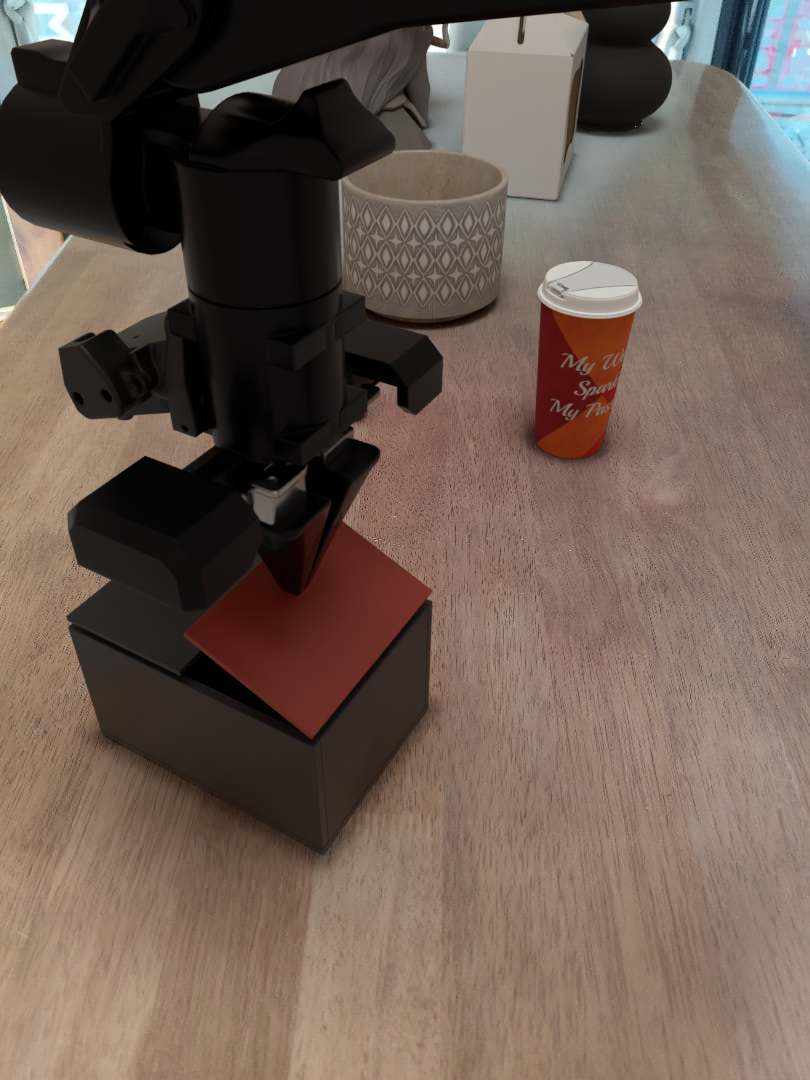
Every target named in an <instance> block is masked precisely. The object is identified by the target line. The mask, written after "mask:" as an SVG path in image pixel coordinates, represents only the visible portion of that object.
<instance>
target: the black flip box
mask: <svg viewBox="0 0 810 1080" xmlns="http://www.w3.org/2000/svg"><path fill="white" fill-rule="evenodd" d="M261 561H262V559H261V557H260V555H259V554H258V552H257V554H256V557H255V559H254V562H253V564H252V567H251V568H250V569H249V570H248V571H247V572H246V573H245V574H244V575H243V576H242V577H241V578H240V579H238V580H237V581H236V582H235V583H234V584H233V585H232V586H231V587H230V588H229V589H228V590H227V591H225V592H224V593H223V594H222V595H221V596H220V597H219V598H218V599H217V600H216V601H215V602H214V603H212V604H211V605H210V606H209V607H208V608H207V609H203V610H198V611H192V612H186V613H183V612H181V611H178V610H176V609H174V608H172V607H170V606H167V605H165V604H163V603H161V602H159V601H156V600H154V599H152V598H150V597H148V596H145V595H143V594H141V593H139V592H137V591H134V590H132V589H130V588H128V587H126V586H123V585H121V584H119V583H117V582H114V581H112V580H109V581H108V582H107V583H105V584H104V585H103V586H102V587H100V589H98V590H97V591H95V592H94V593H93V594H92V595H90V596H89V597H87V599H86V600H84V601H83V602H82V603H81V604H79V605H78V606H77V607H76V608H74V609H73V610H72V611H70V612H69V613H68V614H67V615H66V617H65V618H66V620H67V622H69V623H70V625H68V626H67V628H68V632H69V635H70V638H71V641H72V644H73V648H74V650H75V654H76V657H77V660H78V663H79V667H80V671H81V673H82V676H83V679H84V682H85V685H86V688H87V691H88V695H89V697H90V700H91V701H90V702H91V704H92V707H93V710H94V713H95V717H96V720H97V723H98V726H99V728H100V732H101V734H102V736H105V737H106V738H108V739H110V740H112V741H114V742H116V743H117V744H119V745H121V746H122V747H125V748H127V749H128V750H130V751H132V752H134V753H136V754H137V755H140V756H141V757H143V758H145V759H146V760H149V761H151V762H152V763H154V764H156V765H158V766H159V767H162V768H163V769H165V770H166V771H168V772H170V773H173V774H175V775H176V776H178V777H180V778H182V779H184V780H185V781H187V782H189V783H191V784H193V785H194V786H196V787H198V788H200V789H202V790H204V791H205V792H207V793H210V794H211V795H213V796H215V797H216V798H219V799H220V800H222V801H224V802H226V803H228V804H230V805H231V806H233V807H235V808H237V809H239V810H240V811H242V812H244V813H246V814H248V815H250V816H251V817H253V818H255V819H257V820H259V821H260V822H263V823H264V824H266V825H268V826H270V827H272V828H273V829H276V830H278V831H279V832H281V833H283V834H285V835H287V836H288V837H290V838H292V839H293V840H296V841H298V842H299V843H301V844H302V845H305V846H306V847H308V848H310V849H312V850H314V851H316V852H318V853H319V854H322V855H324V854H326V851H327V850H328V849H329V847H330V846H331V845H332V843H333V842H334V841H335V839H336V837H338V835H339V834H340V832H341V830H342V829H343V828H344V827H345V825H346V824H347V822H348V821H349V819H350V818H351V817H352V815H353V814H354V813H355V812H356V810H357V808H358V807H359V805H360V804H361V802H362V801H363V800H364V798H365V797H366V795H367V794H368V793H369V791H370V790H371V789H372V787H373V786H374V784H375V783H376V782H377V780H378V779H379V777H380V776H381V775H382V774H383V772H384V771H385V769H386V768H387V766H388V765H389V764H390V762H391V761H392V760H393V758H394V757H395V755H396V754H397V752H398V751H399V750H400V749H401V747H402V745H403V744H404V742H405V741H407V738H408V737H409V735H410V734H411V733H412V731H414V729H415V728H416V726H417V724H418V723H419V722H420V720H421V719H422V718H423V716H424V714H425V713H426V712H427V711H428V709H429V705H430V704H429V701H430V679H431V677H430V675H431V654H432V653H431V652H432V649H431V648H432V628H433V627H432V626H433V600H430V599H428V598H427V599H426V600H425V601H424V603H423V604H422V605H421V606H420V608H419V609H418V610H417V611H416V612H415V614H414V615H413V616H412V617H411V619H410V620H409V621H408V622H407V623H406V625H405V626H404V627H403V628H402V630H401V631H400V632H399V633H398V634H397V636H396V637H395V638H394V639H393V641H392V642H391V643H390V644H389V646H388V647H387V648H386V649H385V650H384V652H383V653H382V654H381V655H380V657H379V658H378V659H377V660H376V661H375V663H374V664H373V665H372V666H371V668H370V669H369V670H368V671H367V672H366V674H365V675H364V676H363V677H362V679H361V680H360V681H359V682H358V683H357V685H356V686H355V687H354V688H353V690H352V691H351V692H350V693H349V694H348V696H347V697H346V698H345V699H344V701H343V702H342V703H341V704H340V706H339V707H338V708H337V709H336V710H335V712H334V713H333V714H332V715H331V717H330V718H329V719H328V720H327V721H326V723H325V724H324V725H323V726H322V728H321V729H320V730H319V731H318V732H317V734H316V735H315V736H314V737H313V739H310V738H309V737H308V736H307V735H305V734H304V733H303V732H302V731H300V730H299V729H298V728H297V727H295V726H294V725H293V724H292V723H290V722H289V721H288V720H287V719H286V718H284V717H283V716H282V715H281V714H279V713H278V712H277V711H276V710H274V709H273V708H272V707H271V706H269V705H268V704H267V703H266V702H264V701H263V700H262V699H261V698H259V697H258V696H257V695H256V694H254V693H253V692H252V691H251V690H250V689H248V688H247V687H246V686H245V685H243V684H242V683H241V682H240V681H238V680H237V679H236V678H235V677H233V676H232V675H231V674H230V673H228V672H227V671H226V670H225V669H223V668H222V667H221V666H220V665H218V664H217V663H216V662H215V661H214V660H212V659H211V658H210V657H209V656H207V655H206V654H205V653H204V652H202V651H201V650H200V649H199V648H197V647H196V646H195V645H194V644H192V643H191V642H190V641H189V640H187V639H186V638H185V637H184V633H185V632H186V631H187V630H188V629H189V628H190V627H191V626H192V625H193V624H194V623H195V622H196V621H198V620H199V619H200V618H201V617H202V616H203V615H204V614H205V613H206V612H207V611H208V610H209V609H210V608H212V607H213V606H214V605H215V604H216V603H217V602H218V601H219V600H220V599H221V598H222V597H223V596H225V595H226V594H227V593H228V592H229V591H230V590H231V589H232V588H233V587H234V586H235V585H236V584H237V583H239V582H240V581H241V580H242V579H243V578H244V577H245V576H246V575H247V574H248V573H249V572H250V571H251V570H253V569H254V568H255V567H256V566H257V565H258V564H259V563H260V562H261Z"/></svg>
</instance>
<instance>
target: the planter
mask: <svg viewBox="0 0 810 1080" xmlns="http://www.w3.org/2000/svg"><path fill="white" fill-rule="evenodd" d="M340 185H341V186H340V187H341V188H340V189H341V214H342V216H341V217H342V240H343V241H342V242H343V243H342V244H343V268H344V270H343V271H344V272H343V273H344V289H345V291H347V292H351V293H355V294H359V295H363V296H365V307H366V309H367V310H370V311H371V312H372V313H374V314H376V315H378V316H382V317H384V318H387V319H390V320H394V321H398V322H405V323H414V324H431V323H442V322H443V323H444V322H449V321H453V320H458V319H460V318H464V317H466V316H468V315H471V314H472V313H474V312H476V311H478V310H481V309H483V308H485V307H486V306H488V305H490V304H491V303H492V302H493V301H495V299H496V298H497V297H498V295H499V293H500V289H501V279H502V269H503V267H502V265H503V255H504V253H503V252H504V240H505V227H506V217H507V216H506V214H507V204H508V196H507V191H508V174H507V172H506V171H505V170H504V169H503V168H502V167H501V166H499V165H498V164H496V163H494V162H492V161H490V160H487V159H485V158H481V157H478V156H474V155H470V154H465V153H462V152H459V151H451V150H441V149H428V150H401V151H393V153H391V154H390V155H388V156H386V157H384V158H382V159H380V160H378V161H376V162H374V163H372V164H370V165H368V166H366V167H364V168H362V169H360V170H358V171H356V172H354V173H352V174H350V175H348V176H346V177H344V178H342V179H340Z"/></svg>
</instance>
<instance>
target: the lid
mask: <svg viewBox="0 0 810 1080" xmlns="http://www.w3.org/2000/svg"><path fill="white" fill-rule="evenodd" d="M432 593H433V590H432V589H431V588H430V587H428V586H427V585H426V584H424V583H423V582H422V581H421V580H420V579H418V578H417V577H415V576H414V575H413V574H411V573H410V572H409V571H408V570H406V569H405V568H404V567H403V566H401V564H399V563H397V562H396V561H395V560H393V559H392V558H391V557H390V556H389V555H387V554H386V553H385V552H383V551H382V550H381V549H380V548H378V547H377V546H375V544H373V543H372V542H370V541H369V540H368V539H367V538H365V537H364V536H363V535H362V534H360V533H358V531H356V530H355V529H354V528H352V527H351V526H350V525H348V524H347V523H346V522H344V520H343V521H342V523H341V525H340V526H339V528H338V530H337V532H336V534H335V536H334V538H333V539H332V541H331V543H330V545H329V547H328V549H327V551H326V553H325V555H324V557H323V559H322V561H321V563H320V565H319V567H318V568H317V570H316V572H315V574H314V576H313V578H312V580H311V582H310V584H309V586H308V587H307V588H306V589H305V590H304V591H303V592H302V593H301V594H300V595H299V596H296V595H293V594H291V593H288V592H286V591H284V590H282V589H281V588H280V587H279V585H278V584H277V582H276V580H275V579H274V577H273V576H272V574H271V573H270V571H269V570H268V568H267V566H266V565H265V563H264V562H263V560H262V561H261V562H260V563H259V564H258V565H257V566H256V567H255V568H254V569H253V570H251V571H250V572H249V573H248V574H247V575H246V576H245V577H244V578H243V579H242V580H241V581H240V582H239V583H237V584H236V585H235V586H234V587H233V588H232V589H231V590H230V591H229V592H228V593H227V594H226V595H225V596H223V597H222V598H221V599H220V600H219V601H218V602H217V603H216V604H215V605H214V606H213V607H212V608H210V609H209V610H208V611H207V612H206V613H205V614H204V615H203V616H202V617H201V618H200V619H199V620H198V621H196V622H195V623H194V624H193V625H192V626H191V627H190V628H189V629H188V630H187V631H186V632H185V633H184V637H185V638H186V639H187V640H189V641H190V642H191V643H192V644H194V645H195V646H196V647H197V648H199V649H200V650H201V651H202V652H204V653H205V654H206V655H207V656H209V657H210V658H211V659H212V660H214V661H215V662H216V663H217V664H218V665H220V666H221V667H222V668H223V669H225V670H226V671H227V672H228V673H230V674H231V675H232V676H233V677H235V678H236V679H237V680H238V681H240V682H241V683H242V684H243V685H245V686H246V687H247V688H248V689H250V690H251V691H252V692H253V693H254V694H256V695H257V696H258V697H259V698H261V699H262V700H263V701H264V702H266V703H267V704H268V705H269V706H271V707H272V708H273V709H274V710H276V711H277V712H278V713H279V714H281V715H282V716H283V717H284V718H286V719H287V720H288V721H289V722H290V723H292V724H293V725H294V726H295V727H297V728H298V729H299V730H300V731H302V732H303V733H304V734H305V735H307V736H308V737H309V738H310V739H313V737H314V736H315V735H316V734H317V732H318V731H319V730H320V729H321V728H322V726H323V725H324V724H325V723H326V721H327V720H328V719H329V718H330V717H331V715H332V714H333V713H334V712H335V710H336V709H337V708H338V707H339V706H340V704H341V703H342V702H343V701H344V699H345V698H346V697H347V696H348V694H349V693H350V692H351V691H352V690H353V688H354V687H355V686H356V685H357V683H358V682H359V681H360V680H361V679H362V677H363V676H364V675H365V674H366V672H367V671H368V670H369V669H370V668H371V666H372V665H373V664H374V663H375V661H376V660H377V659H378V658H379V657H380V655H381V654H382V653H383V652H384V650H385V649H386V648H387V647H388V646H389V644H390V643H391V642H392V641H393V639H394V638H395V637H396V636H397V634H398V633H399V632H400V631H401V630H402V628H403V627H404V626H405V625H406V623H407V622H408V621H409V620H410V619H411V617H412V616H413V615H414V614H415V612H416V611H417V610H418V609H419V608H420V606H421V605H422V604H423V603H424V601H425V600H426V599H428V598H429V597H430V595H431V594H432Z"/></svg>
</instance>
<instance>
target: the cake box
mask: <svg viewBox="0 0 810 1080" xmlns="http://www.w3.org/2000/svg"><path fill="white" fill-rule="evenodd" d="M588 28H589V24H588V23H587V22H586V20H585V18H584V15H583V13H582V11H576V12H566V13H555V14H545V15H534V16H524V17H513V18H503V19H493V20H485V22H484V24H483V25H482V27H481V28H480V30H479V31H478V33H477V35H476V36H475V38H474V39H473V41H472V43H471V44H470V45H469V46H468V48H467V49H466V53H465V54H466V56H465V74H464V75H465V79H464V96H463V97H464V98H463V118H462V120H463V121H462V141H461V153H465V154H470V155H474V156H478V157H481V158H485V159H487V160H490V161H492V162H494V163H496V164H498V165H499V166H501V167H502V168H503V169H504V170H505V171H506V172H507V174H508V191H507V197H511V198H521V199H533V200H542V201H543V200H544V201H554V202H556V201H557V200H558V198H559V195H560V192H561V189H562V186H563V184H564V181H565V177H566V175H567V172H568V170H569V166H570V163H571V161H572V159H573V158H572V157H573V154H574V150H575V141H576V133H577V126H578V125H577V118H578V109H579V101H580V93H581V85H582V77H583V69H584V60H585V52H586V44H587V36H588Z"/></svg>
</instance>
